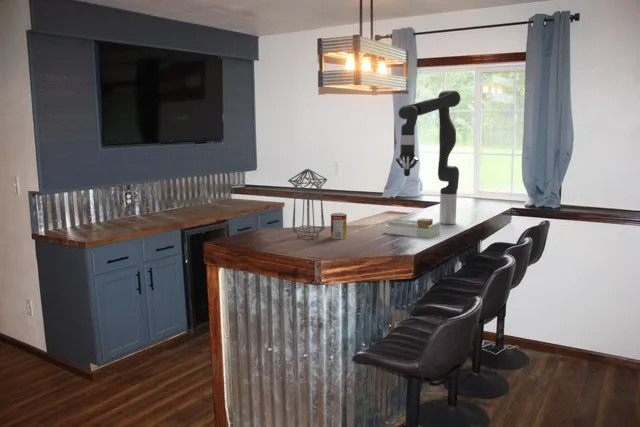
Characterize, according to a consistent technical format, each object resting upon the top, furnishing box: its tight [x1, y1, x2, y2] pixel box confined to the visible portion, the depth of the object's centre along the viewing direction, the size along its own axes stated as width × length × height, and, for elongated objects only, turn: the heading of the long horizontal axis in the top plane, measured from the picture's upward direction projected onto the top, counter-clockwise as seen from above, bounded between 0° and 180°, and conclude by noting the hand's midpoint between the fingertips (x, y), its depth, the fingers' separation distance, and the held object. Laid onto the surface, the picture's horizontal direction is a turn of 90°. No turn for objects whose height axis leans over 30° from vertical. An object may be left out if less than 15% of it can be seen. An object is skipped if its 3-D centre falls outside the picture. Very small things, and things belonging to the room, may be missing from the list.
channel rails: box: [387, 218, 419, 228], centre depth 290 cm, size 10×17×2 cm, turn 57°
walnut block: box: [416, 218, 434, 229], centre depth 285 cm, size 6×6×4 cm
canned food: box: [330, 212, 348, 240], centre depth 278 cm, size 8×8×12 cm
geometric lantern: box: [287, 168, 328, 241], centre depth 274 cm, size 16×16×35 cm
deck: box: [384, 221, 441, 239], centre depth 289 cm, size 14×25×6 cm, turn 57°
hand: (406, 176), depth 297 cm, fingers closed
